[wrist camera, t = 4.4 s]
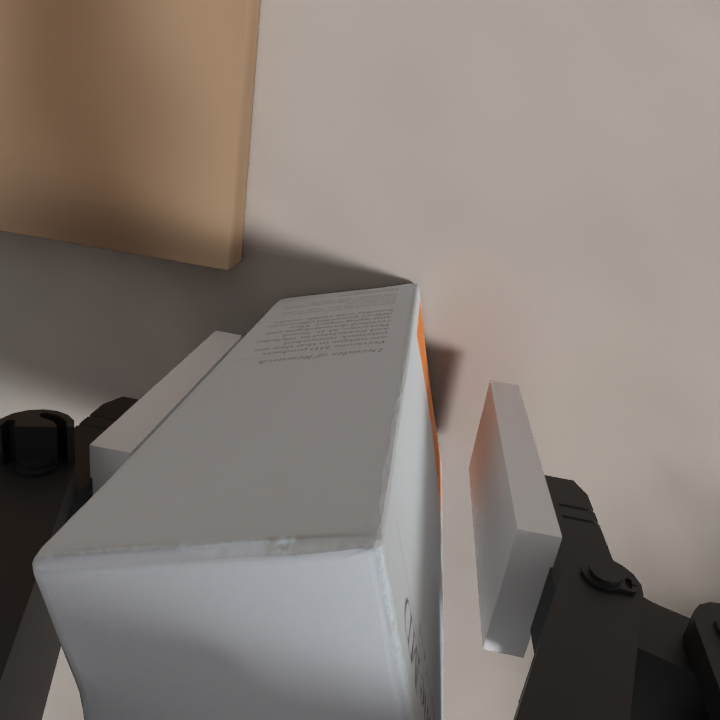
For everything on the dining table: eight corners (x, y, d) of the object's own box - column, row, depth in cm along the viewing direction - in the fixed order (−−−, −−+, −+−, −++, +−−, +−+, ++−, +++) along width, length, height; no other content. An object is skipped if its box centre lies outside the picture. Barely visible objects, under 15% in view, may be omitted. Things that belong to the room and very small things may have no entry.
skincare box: (446, 464, 19) (452, 931, 8) (313, 474, 20) (150, 915, 9) (422, 273, 17) (388, 544, 6) (275, 291, 18) (3, 564, 7)
